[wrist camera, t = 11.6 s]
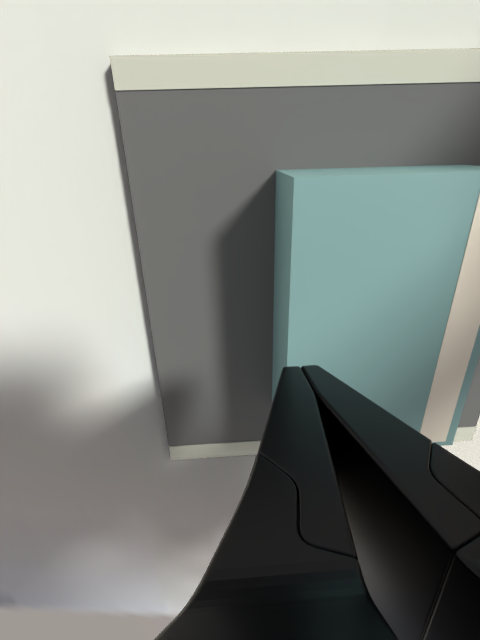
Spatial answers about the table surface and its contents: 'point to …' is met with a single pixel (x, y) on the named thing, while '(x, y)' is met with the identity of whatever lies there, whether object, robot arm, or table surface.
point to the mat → (261, 200)
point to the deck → (382, 285)
